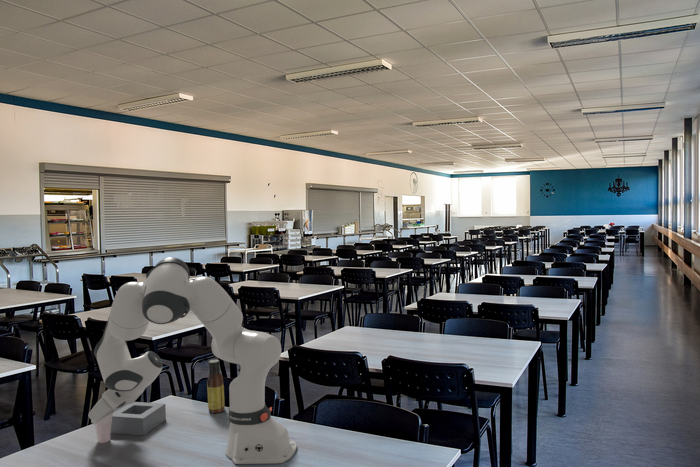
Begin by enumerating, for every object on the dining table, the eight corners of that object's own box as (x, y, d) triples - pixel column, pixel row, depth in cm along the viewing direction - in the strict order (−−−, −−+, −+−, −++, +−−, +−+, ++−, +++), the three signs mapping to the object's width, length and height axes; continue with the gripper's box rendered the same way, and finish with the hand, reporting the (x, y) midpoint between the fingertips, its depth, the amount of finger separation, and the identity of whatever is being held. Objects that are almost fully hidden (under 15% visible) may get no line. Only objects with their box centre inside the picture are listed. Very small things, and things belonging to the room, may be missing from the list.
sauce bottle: (217, 406, 202) (216, 357, 202) (228, 409, 199) (226, 359, 198) (204, 411, 197) (202, 361, 197) (214, 415, 194) (213, 363, 193)
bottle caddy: (165, 419, 190) (165, 403, 190) (143, 435, 177) (143, 418, 176) (132, 417, 193) (132, 401, 193) (108, 432, 179) (107, 415, 179)
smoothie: (106, 445, 169) (104, 404, 169) (89, 444, 170) (87, 402, 170) (118, 437, 175) (117, 397, 175) (102, 436, 177) (100, 396, 176)
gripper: (138, 374, 181) (115, 400, 183) (100, 394, 161) (74, 422, 163) (150, 387, 180) (126, 412, 183) (113, 408, 160) (87, 437, 162)
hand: (101, 417), depth 173 cm, fingers open, 7 cm apart
